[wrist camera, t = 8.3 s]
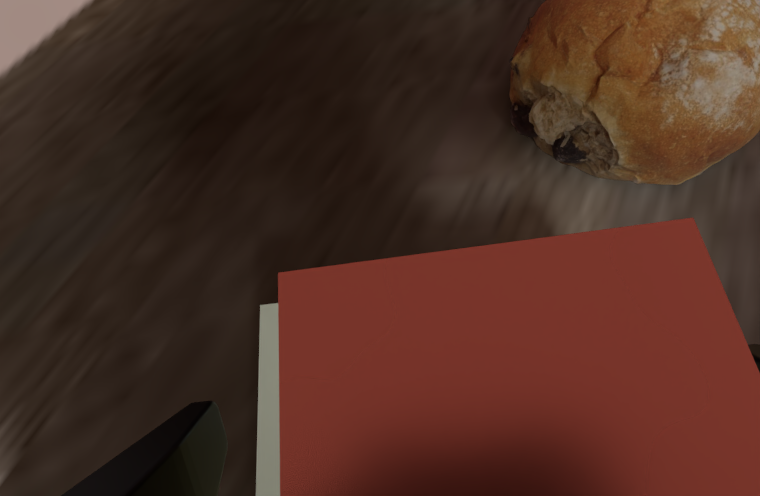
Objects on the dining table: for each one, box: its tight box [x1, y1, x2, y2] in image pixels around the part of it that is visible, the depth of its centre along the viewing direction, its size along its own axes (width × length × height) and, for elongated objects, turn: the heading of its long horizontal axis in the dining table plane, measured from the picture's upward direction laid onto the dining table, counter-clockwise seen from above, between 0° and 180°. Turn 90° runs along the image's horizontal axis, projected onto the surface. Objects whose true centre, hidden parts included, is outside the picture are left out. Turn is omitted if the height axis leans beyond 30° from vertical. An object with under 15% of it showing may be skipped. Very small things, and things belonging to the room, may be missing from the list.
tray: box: [256, 303, 280, 496], centre depth 15 cm, size 12×12×3 cm
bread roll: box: [509, 0, 760, 185], centre depth 20 cm, size 10×10×8 cm
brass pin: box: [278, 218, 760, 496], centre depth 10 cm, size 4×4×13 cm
